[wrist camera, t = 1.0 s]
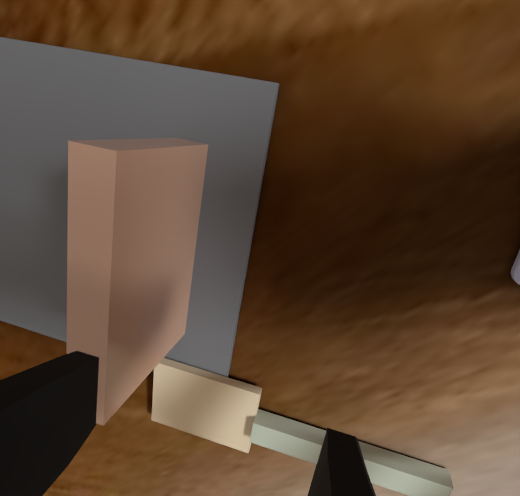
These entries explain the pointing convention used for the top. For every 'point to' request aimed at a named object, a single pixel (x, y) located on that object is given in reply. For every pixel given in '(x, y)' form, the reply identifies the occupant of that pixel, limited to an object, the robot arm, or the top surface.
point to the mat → (126, 127)
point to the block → (130, 254)
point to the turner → (270, 427)
